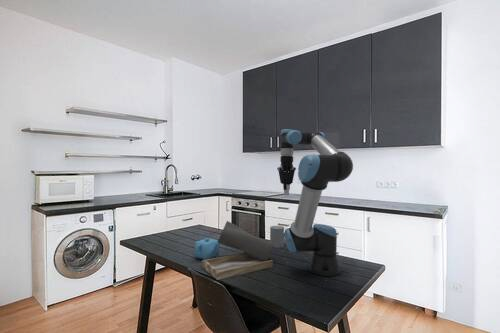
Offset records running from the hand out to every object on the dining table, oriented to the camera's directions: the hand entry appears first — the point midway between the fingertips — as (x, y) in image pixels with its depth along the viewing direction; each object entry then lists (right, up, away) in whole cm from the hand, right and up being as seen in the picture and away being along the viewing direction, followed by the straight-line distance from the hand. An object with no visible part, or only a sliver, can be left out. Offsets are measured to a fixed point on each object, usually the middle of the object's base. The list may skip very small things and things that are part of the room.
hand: (286, 195), depth 161 cm
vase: (-10, -32, -6) cm, 34 cm away
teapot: (-46, -36, -4) cm, 59 cm away
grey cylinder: (-3, -37, +23) cm, 43 cm away
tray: (-28, -36, -17) cm, 49 cm away
